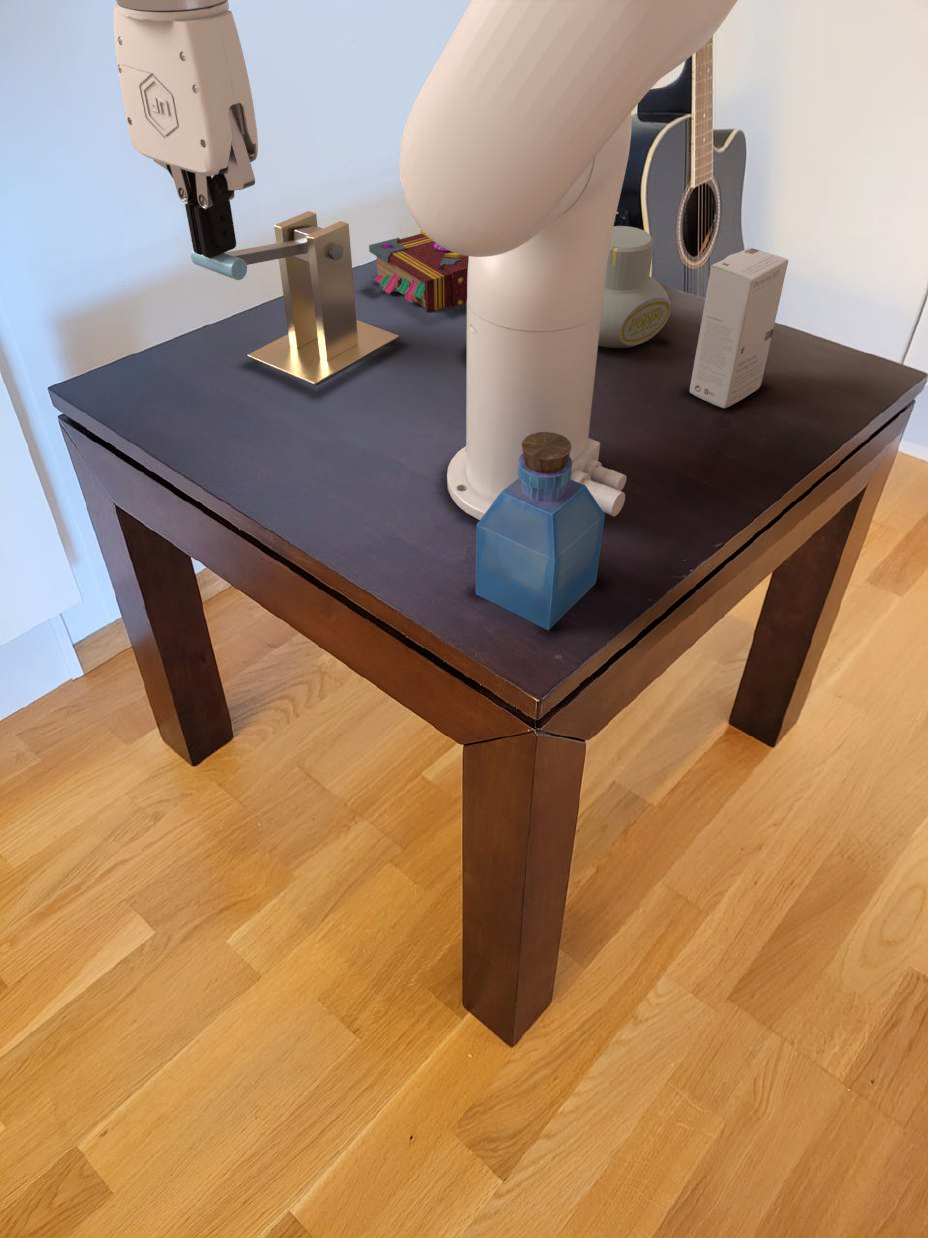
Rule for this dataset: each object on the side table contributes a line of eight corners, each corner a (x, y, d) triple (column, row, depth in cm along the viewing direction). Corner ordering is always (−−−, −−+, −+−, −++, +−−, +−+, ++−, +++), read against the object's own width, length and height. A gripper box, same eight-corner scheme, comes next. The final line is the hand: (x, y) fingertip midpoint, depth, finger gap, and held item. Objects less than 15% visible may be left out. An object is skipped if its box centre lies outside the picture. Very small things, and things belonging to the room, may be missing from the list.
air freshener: (602, 367, 91) (613, 265, 85) (544, 336, 96) (550, 237, 89) (678, 334, 96) (695, 235, 90) (619, 306, 101) (631, 210, 94)
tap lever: (232, 286, 77) (231, 255, 76) (191, 270, 79) (189, 240, 78) (344, 262, 86) (345, 234, 85) (304, 249, 88) (304, 222, 87)
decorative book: (540, 287, 105) (543, 242, 101) (419, 325, 98) (417, 278, 94) (479, 253, 111) (480, 210, 108) (362, 287, 104) (358, 242, 101)
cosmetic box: (726, 410, 86) (754, 280, 77) (685, 393, 88) (708, 264, 80) (763, 386, 89) (794, 258, 80) (722, 370, 91) (748, 244, 83)
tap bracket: (315, 395, 88) (299, 258, 79) (248, 366, 92) (226, 232, 83) (400, 346, 94) (393, 215, 86) (334, 321, 98) (321, 194, 90)
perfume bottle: (548, 630, 65) (561, 485, 56) (475, 594, 67) (477, 450, 59) (595, 583, 68) (614, 440, 60) (525, 550, 71) (533, 409, 63)
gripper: (57, -22, 66) (120, 242, 79) (200, 9, 59) (244, 291, 72) (144, -36, 70) (190, 215, 83) (286, -10, 64) (313, 259, 76)
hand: (215, 250), depth 77 cm, fingers closed
